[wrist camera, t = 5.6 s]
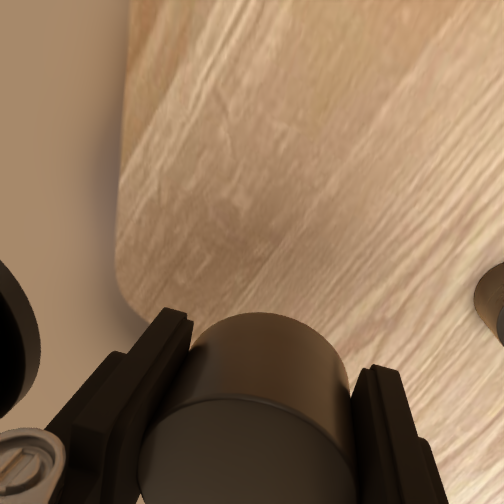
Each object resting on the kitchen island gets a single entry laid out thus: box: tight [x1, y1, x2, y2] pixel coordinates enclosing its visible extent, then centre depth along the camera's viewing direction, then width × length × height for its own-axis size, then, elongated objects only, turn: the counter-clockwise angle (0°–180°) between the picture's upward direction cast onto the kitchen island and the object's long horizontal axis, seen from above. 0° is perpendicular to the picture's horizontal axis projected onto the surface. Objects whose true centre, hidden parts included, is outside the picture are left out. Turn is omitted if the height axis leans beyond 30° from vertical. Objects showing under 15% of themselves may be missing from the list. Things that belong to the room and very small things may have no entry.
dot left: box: [136, 312, 360, 504], centre depth 9 cm, size 4×4×3 cm
